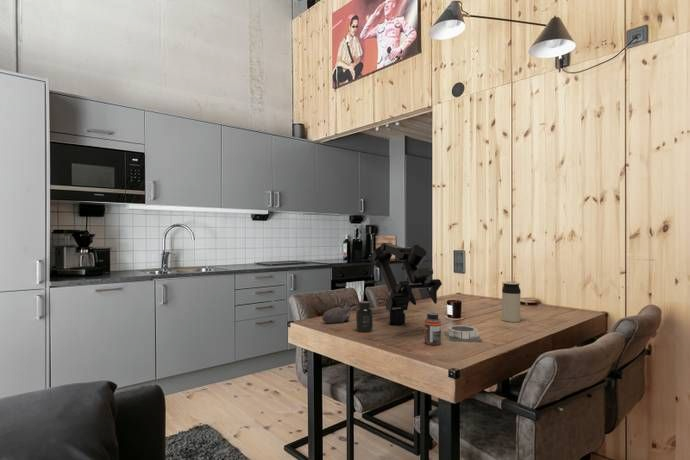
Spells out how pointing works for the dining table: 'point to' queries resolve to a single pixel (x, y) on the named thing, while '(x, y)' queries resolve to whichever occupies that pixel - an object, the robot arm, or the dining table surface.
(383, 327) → the dining table surface
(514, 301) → the travel mug
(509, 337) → the dining table surface
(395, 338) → the dining table surface
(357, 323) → the supplement bottle
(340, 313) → the perforated stone tool
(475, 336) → the collar
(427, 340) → the supplement bottle
